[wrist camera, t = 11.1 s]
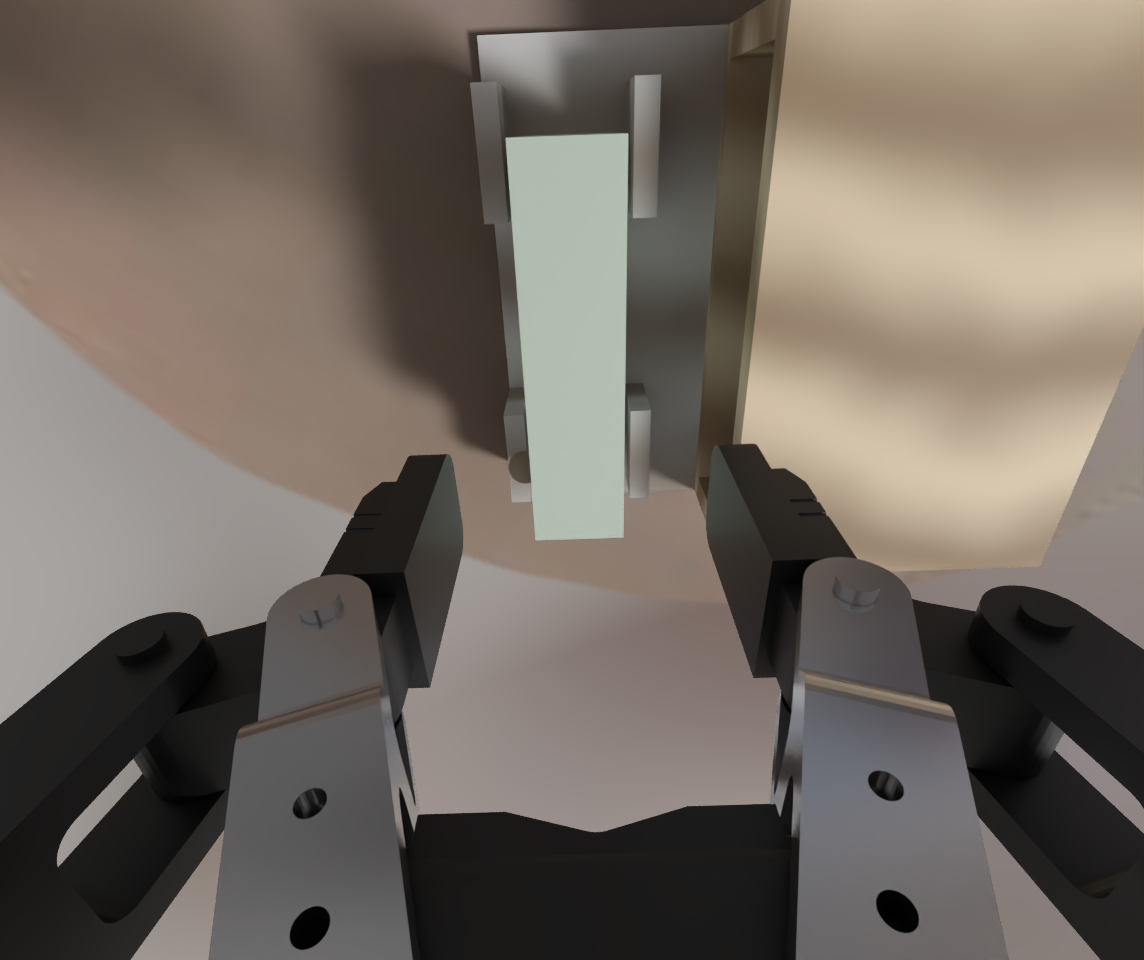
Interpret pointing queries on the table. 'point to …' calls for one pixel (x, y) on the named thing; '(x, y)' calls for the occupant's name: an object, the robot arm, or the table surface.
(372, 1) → the table surface
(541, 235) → the door
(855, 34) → the cabinet
